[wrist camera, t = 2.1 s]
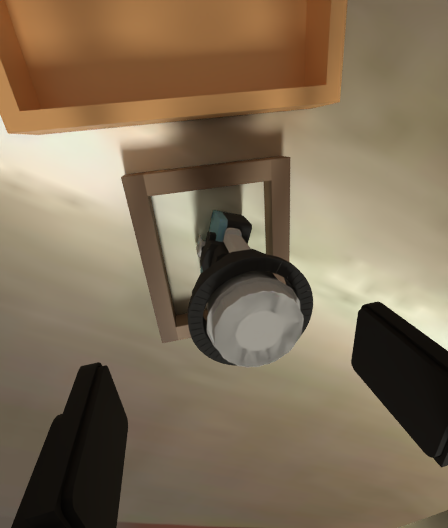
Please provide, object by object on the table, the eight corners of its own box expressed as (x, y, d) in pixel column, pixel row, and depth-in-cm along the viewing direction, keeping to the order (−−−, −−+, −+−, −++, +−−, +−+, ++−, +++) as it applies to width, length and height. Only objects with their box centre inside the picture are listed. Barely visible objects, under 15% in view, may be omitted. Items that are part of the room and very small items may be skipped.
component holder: (280, 156, 18) (290, 157, 16) (281, 307, 23) (288, 318, 21) (125, 174, 16) (121, 177, 15) (162, 330, 21) (162, 343, 20)
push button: (239, 295, 21) (289, 406, 12) (171, 287, 20) (173, 405, 11) (262, 214, 19) (345, 278, 10) (187, 198, 18) (206, 258, 9)
